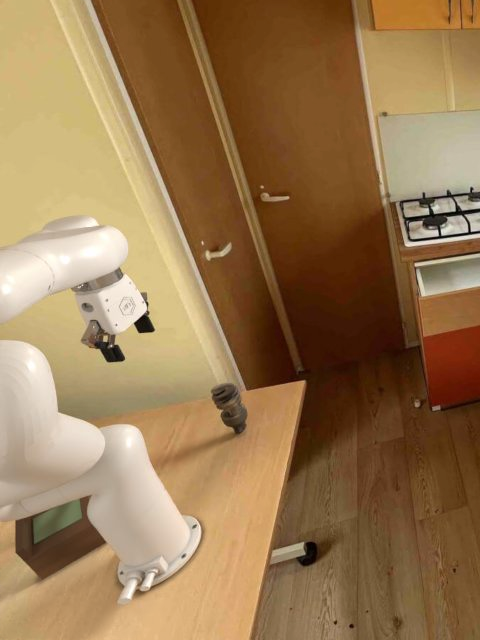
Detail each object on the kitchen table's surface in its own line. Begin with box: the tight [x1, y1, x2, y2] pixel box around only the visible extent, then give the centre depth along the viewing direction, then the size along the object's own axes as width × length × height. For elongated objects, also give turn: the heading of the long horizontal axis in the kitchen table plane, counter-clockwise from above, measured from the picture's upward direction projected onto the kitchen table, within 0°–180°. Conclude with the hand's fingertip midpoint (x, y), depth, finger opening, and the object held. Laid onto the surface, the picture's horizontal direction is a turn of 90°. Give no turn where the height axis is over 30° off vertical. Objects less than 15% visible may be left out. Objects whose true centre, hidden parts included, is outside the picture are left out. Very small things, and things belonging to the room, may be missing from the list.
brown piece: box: [14, 495, 107, 581], centre depth 81 cm, size 9×12×9 cm
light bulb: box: [210, 382, 249, 434], centre depth 102 cm, size 6×6×15 cm
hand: (132, 345), depth 91 cm, fingers open, 9 cm apart
